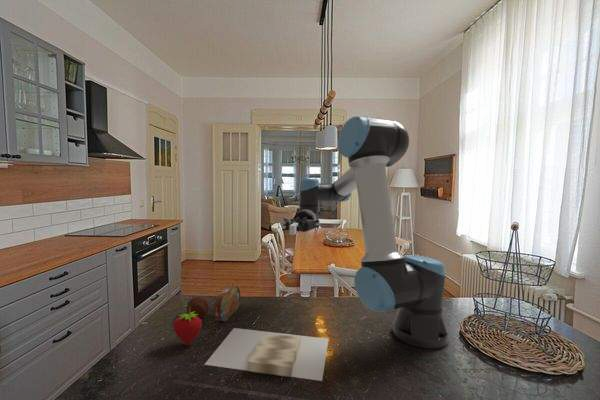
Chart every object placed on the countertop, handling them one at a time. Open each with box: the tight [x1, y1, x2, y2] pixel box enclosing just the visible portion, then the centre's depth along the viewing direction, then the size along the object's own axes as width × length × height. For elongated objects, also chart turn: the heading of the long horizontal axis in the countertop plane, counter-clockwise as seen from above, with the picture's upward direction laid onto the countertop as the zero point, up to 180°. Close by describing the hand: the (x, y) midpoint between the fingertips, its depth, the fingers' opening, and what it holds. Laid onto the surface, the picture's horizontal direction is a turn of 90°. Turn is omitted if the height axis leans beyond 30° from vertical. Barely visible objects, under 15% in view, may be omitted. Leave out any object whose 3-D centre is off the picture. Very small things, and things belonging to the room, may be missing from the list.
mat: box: [204, 327, 330, 382], centre depth 77 cm, size 28×18×1 cm, turn 80°
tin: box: [213, 285, 241, 322], centre depth 98 cm, size 15×3×8 cm, turn 168°
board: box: [247, 333, 301, 378], centre depth 74 cm, size 10×2×13 cm
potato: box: [186, 295, 210, 320], centre depth 97 cm, size 7×9×6 cm
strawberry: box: [172, 311, 203, 346], centre depth 80 cm, size 6×8×10 cm
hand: (291, 230), depth 88 cm, fingers closed
